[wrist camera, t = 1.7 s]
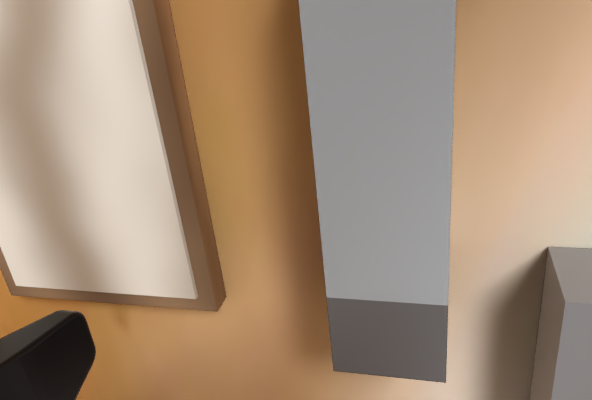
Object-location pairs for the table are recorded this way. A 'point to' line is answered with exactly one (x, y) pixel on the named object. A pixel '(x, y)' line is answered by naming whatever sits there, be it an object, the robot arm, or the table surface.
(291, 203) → the table surface
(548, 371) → the button housing
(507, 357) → the table surface
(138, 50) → the drawing board
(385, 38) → the grey rectangular block
